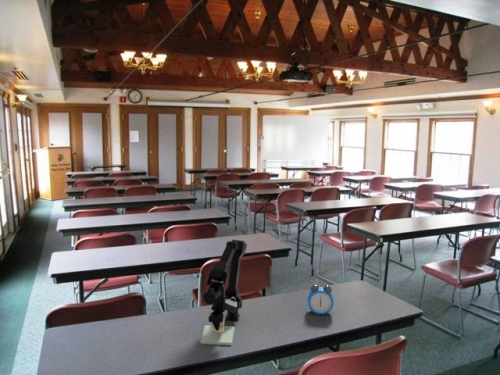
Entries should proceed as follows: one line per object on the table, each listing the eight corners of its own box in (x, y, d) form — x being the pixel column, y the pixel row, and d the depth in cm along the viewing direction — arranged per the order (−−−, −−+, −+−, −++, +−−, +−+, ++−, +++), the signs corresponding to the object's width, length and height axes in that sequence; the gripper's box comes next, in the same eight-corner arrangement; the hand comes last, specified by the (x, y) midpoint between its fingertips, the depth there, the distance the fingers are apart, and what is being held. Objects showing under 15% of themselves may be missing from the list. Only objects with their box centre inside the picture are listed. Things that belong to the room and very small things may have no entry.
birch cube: (213, 326, 177) (213, 316, 176) (224, 326, 177) (224, 316, 176) (211, 332, 172) (212, 321, 172) (222, 332, 172) (223, 322, 171)
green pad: (205, 327, 182) (205, 325, 182) (234, 328, 182) (234, 326, 181) (200, 343, 168) (200, 341, 168) (231, 345, 168) (231, 342, 168)
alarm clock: (307, 314, 198) (308, 286, 196) (307, 308, 204) (308, 282, 202) (332, 316, 197) (334, 288, 194) (331, 310, 203) (333, 283, 200)
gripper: (234, 305, 163) (233, 339, 165) (238, 287, 181) (237, 318, 183) (208, 303, 163) (208, 338, 165) (214, 286, 182) (214, 317, 184)
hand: (218, 327), depth 174 cm, fingers closed on birch cube, 5 cm apart
